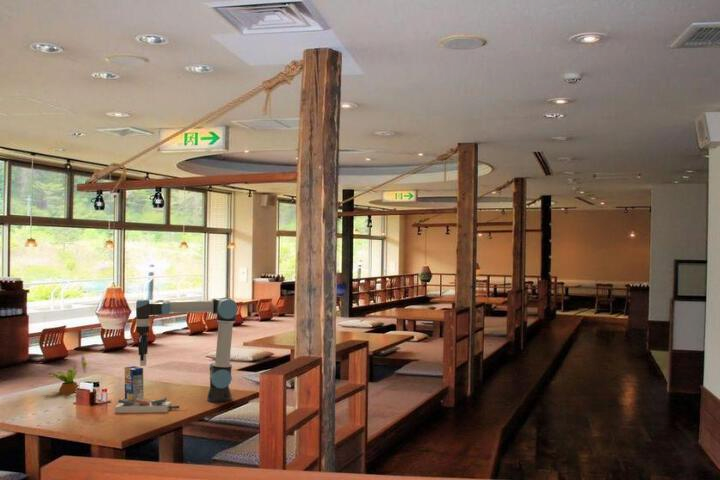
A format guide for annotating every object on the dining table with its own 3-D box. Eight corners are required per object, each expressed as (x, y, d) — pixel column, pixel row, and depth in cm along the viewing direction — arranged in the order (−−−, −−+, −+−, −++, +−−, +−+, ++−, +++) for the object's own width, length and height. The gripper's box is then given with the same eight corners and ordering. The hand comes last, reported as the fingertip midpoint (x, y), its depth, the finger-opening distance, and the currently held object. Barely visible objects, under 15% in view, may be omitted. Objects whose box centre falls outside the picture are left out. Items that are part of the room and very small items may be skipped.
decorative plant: (83, 394, 441) (83, 356, 441) (44, 396, 436) (43, 358, 436) (90, 386, 468) (90, 350, 468) (52, 388, 462) (52, 351, 462)
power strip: (181, 407, 404) (181, 400, 404) (176, 412, 393) (176, 404, 393) (121, 408, 404) (121, 400, 404) (114, 412, 393) (114, 405, 393)
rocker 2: (150, 403, 399) (150, 399, 399) (148, 404, 395) (148, 401, 395) (136, 400, 399) (137, 397, 399) (134, 402, 395) (135, 398, 395)
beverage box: (133, 406, 409) (132, 369, 409) (124, 403, 417) (124, 367, 417) (143, 404, 414) (143, 368, 414) (135, 401, 422) (134, 366, 422)
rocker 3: (166, 400, 400) (166, 396, 400) (164, 401, 395) (164, 398, 395) (153, 403, 399) (152, 399, 399) (151, 404, 395) (150, 401, 395)
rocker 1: (134, 403, 399) (134, 400, 399) (131, 405, 395) (132, 401, 395) (120, 400, 399) (121, 397, 399) (118, 402, 395) (118, 399, 395)
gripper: (140, 324, 406) (140, 363, 406) (132, 327, 391) (132, 367, 391) (152, 324, 406) (153, 363, 406) (145, 327, 391) (145, 367, 391)
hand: (143, 365), depth 399 cm, fingers open, 2 cm apart
